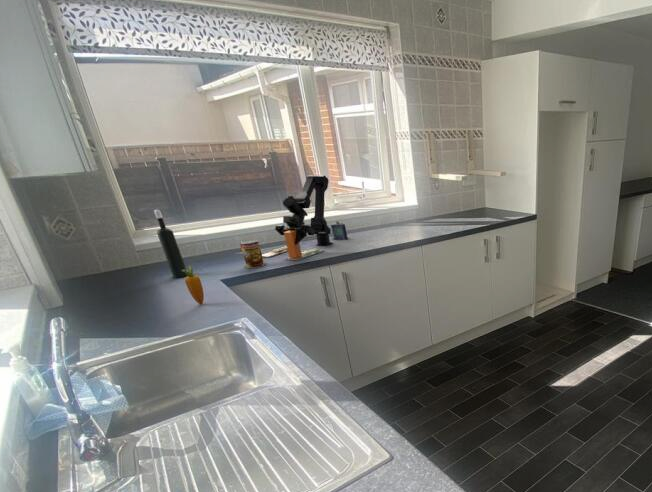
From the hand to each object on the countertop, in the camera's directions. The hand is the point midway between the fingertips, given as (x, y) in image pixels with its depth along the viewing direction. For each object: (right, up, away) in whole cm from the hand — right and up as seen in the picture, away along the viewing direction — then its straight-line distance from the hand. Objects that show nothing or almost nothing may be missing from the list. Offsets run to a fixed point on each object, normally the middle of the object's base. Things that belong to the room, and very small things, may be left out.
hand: (291, 244), depth 215 cm
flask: (+9, +13, +45) cm, 47 cm away
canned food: (-15, -12, -6) cm, 20 cm away
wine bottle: (-43, -19, -19) cm, 50 cm away
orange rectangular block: (0, -5, +4) cm, 7 cm away
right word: (+3, -4, +10) cm, 11 cm away
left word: (-16, -1, +17) cm, 23 cm away
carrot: (-8, -35, -54) cm, 65 cm away
